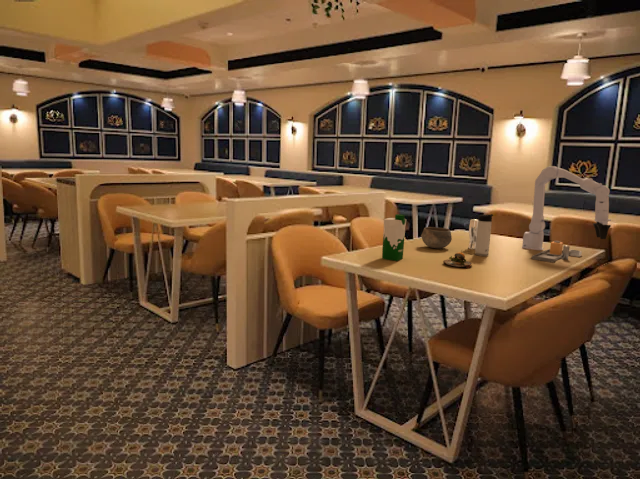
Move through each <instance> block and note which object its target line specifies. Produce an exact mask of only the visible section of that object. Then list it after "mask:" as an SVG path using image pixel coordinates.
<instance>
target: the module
mask: <svg viewBox="0 0 640 479" xmlns="http://www.w3.org/2000/svg"><path fill="white" fill-rule="evenodd" d="M563 246H564V242H561V241H560V240H554V241H551V242H550V248H549V249H550V254H555V255H562V250H563Z"/></svg>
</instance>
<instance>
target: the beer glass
mask: <svg viewBox="0 0 640 479" xmlns="http://www.w3.org/2000/svg"><path fill="white" fill-rule="evenodd" d="M478 219H479V218H478ZM478 219H477V218H476V219H475V218H473V219H472V218H471V219H470V221H469V227H468V234H469V242H468V243H469V244H468V247H467V248H468V249H469V250H474V251H475V247H476V237H477V226H478Z"/></svg>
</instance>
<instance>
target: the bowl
mask: <svg viewBox="0 0 640 479" xmlns="http://www.w3.org/2000/svg"><path fill="white" fill-rule="evenodd" d="M420 237H421V240H422V242H423V243H424V245H425V246H426V247H428V248H431V249H439V250H440V249H444V248H446V247H447V246H448V245H450V243H451V242H452V241H453V239H452V238H453V236H452V232H451V230H450V229H449V228H446V227H437V226H436V227H435V226H426V227H424V228H423V230H422V232H421V234H420Z"/></svg>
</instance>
